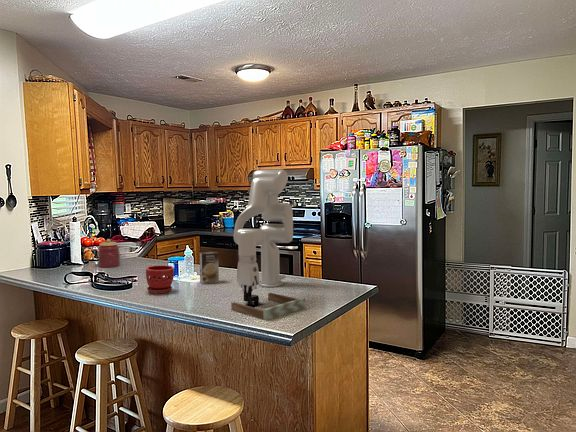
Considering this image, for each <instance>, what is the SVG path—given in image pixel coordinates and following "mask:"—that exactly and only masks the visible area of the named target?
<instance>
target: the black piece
mask: <svg viewBox="0 0 576 432" xmlns="http://www.w3.org/2000/svg"><path fill="white" fill-rule="evenodd" d="M246 303H247V304H245V305H246V306H250V307H253V308H257V307H261V306H264V305H266V303H265V302H260V297H259V295H257V294H252V295H250V296H248V298H247V302H246Z"/></svg>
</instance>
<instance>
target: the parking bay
mask: <svg viewBox="0 0 576 432" xmlns="http://www.w3.org/2000/svg"><path fill="white" fill-rule="evenodd" d="M267 296H268V297H267V298H268V299H267V300H268V301H271V302H275V303H278V304H277V305H273V306H270V307H267V308H264V309H260V308H257V307H255V308H253V307H250V306H246V304H242V303H238V302H235V301H234V302H231V305H230V306H231V307H230V308H231V311H234V312H235V313H236V312H237V313H240V314H243V315H247V316H249V317H254V318H258V319H260V320H264V321H269V320H272V319H274V318H278V317H280V316H283V315H287V314H291V313H292V312H296V311H299V310H302V309H305V308H306V298H305V297H300V298H295V297H290V296H286V295H282V294H277V293H275V292H268V294H267Z"/></svg>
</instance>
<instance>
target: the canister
mask: <svg viewBox="0 0 576 432" xmlns="http://www.w3.org/2000/svg"><path fill="white" fill-rule="evenodd" d="M98 246H99V247H97V249H98V252H97V256H98V262H97V263H98V267H99V268H105V269H107V268H108V269H109V268H115V267H119V266H120V264H121V262H120V253H121V252H120V246H119V243H118V242H116V241H112V240H111V239H110V238H107V239H106V241H103V242H101V243H99V245H98Z"/></svg>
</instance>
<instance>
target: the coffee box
mask: <svg viewBox="0 0 576 432" xmlns="http://www.w3.org/2000/svg"><path fill="white" fill-rule="evenodd" d="M219 254H220V253H219V252H218V251H203V252H202V251H200V252H199V282H200V284H201V285H205V284H207V285H208V284H218V283H220V277H219V276H220V275H219V274H220V272H219V268H220V267H219V263H220V261H219V260H220V259H219V258H220V257H219V256H220V255H219Z"/></svg>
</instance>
